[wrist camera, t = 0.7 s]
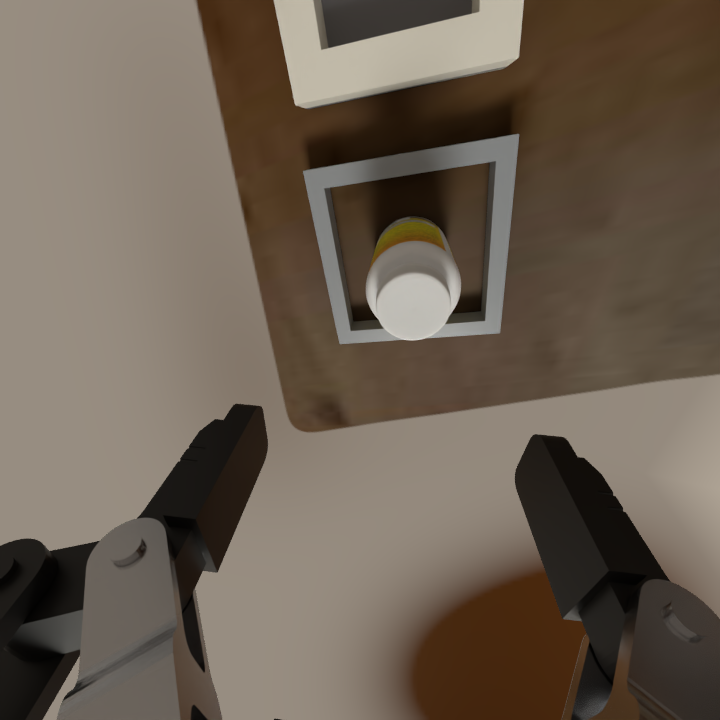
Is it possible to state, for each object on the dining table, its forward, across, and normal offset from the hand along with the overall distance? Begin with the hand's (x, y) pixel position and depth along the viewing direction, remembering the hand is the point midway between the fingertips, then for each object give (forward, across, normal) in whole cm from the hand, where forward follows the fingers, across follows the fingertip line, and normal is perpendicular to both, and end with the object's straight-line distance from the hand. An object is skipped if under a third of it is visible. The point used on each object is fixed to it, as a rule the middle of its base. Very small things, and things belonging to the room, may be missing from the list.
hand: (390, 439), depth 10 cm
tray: (+19, -1, -1) cm, 19 cm away
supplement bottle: (+19, -1, -1) cm, 19 cm away
